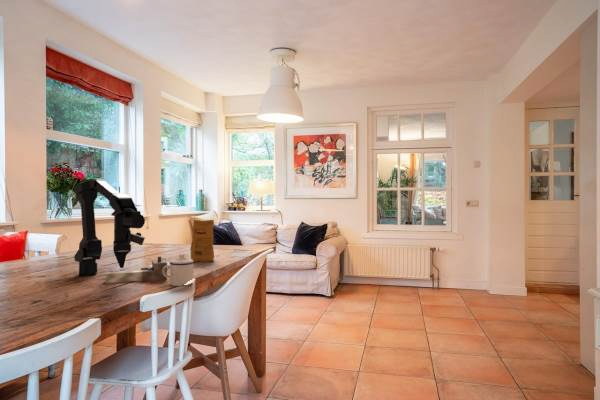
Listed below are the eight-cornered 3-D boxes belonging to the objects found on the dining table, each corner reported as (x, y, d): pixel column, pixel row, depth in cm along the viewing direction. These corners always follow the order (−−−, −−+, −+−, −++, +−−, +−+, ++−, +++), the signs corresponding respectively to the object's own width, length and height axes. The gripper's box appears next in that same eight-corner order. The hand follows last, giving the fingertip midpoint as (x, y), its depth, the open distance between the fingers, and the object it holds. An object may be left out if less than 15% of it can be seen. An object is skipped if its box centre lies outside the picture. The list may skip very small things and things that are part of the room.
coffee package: (191, 259, 212) (191, 219, 212) (214, 259, 214) (215, 219, 214) (189, 262, 202) (189, 220, 202) (213, 262, 204) (214, 220, 204)
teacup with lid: (196, 281, 157) (196, 252, 157) (189, 286, 148) (190, 256, 148) (166, 281, 157) (166, 252, 157) (158, 286, 148) (158, 255, 148)
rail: (105, 283, 152) (105, 271, 152) (105, 281, 156) (105, 269, 156) (151, 279, 160) (151, 268, 160) (150, 277, 164) (150, 266, 164)
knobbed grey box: (142, 281, 156) (142, 259, 156) (140, 277, 164) (141, 256, 164) (166, 279, 160) (167, 257, 160) (164, 275, 168) (164, 254, 168)
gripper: (145, 228, 152) (144, 268, 152) (142, 225, 168) (141, 261, 169) (113, 229, 147) (113, 270, 147) (113, 225, 164) (113, 262, 164)
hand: (121, 266), depth 157 cm, fingers open, 9 cm apart
